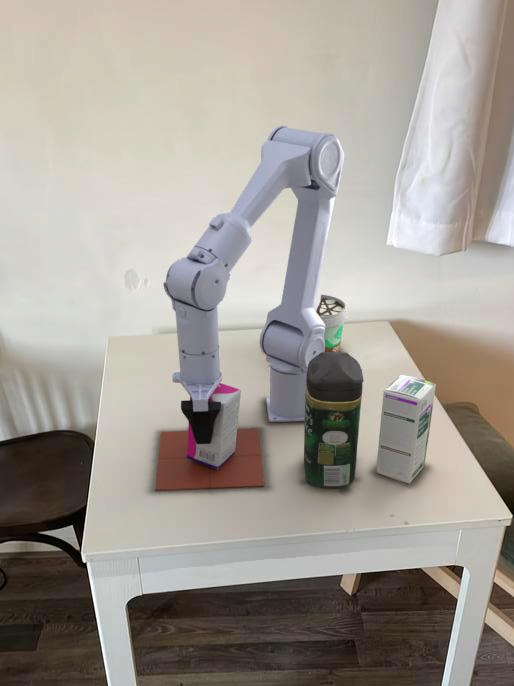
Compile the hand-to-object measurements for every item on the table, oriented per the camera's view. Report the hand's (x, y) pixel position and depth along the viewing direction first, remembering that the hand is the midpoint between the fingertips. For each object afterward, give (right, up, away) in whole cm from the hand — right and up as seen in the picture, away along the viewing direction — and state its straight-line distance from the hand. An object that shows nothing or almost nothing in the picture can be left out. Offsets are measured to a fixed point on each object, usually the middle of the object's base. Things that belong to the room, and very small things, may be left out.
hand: (203, 429), depth 105 cm
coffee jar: (+19, -7, 0) cm, 20 cm away
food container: (+22, +17, +34) cm, 44 cm away
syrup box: (+30, -6, +1) cm, 31 cm away
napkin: (+1, -4, +3) cm, 5 cm away
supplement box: (+1, -4, +3) cm, 5 cm away
